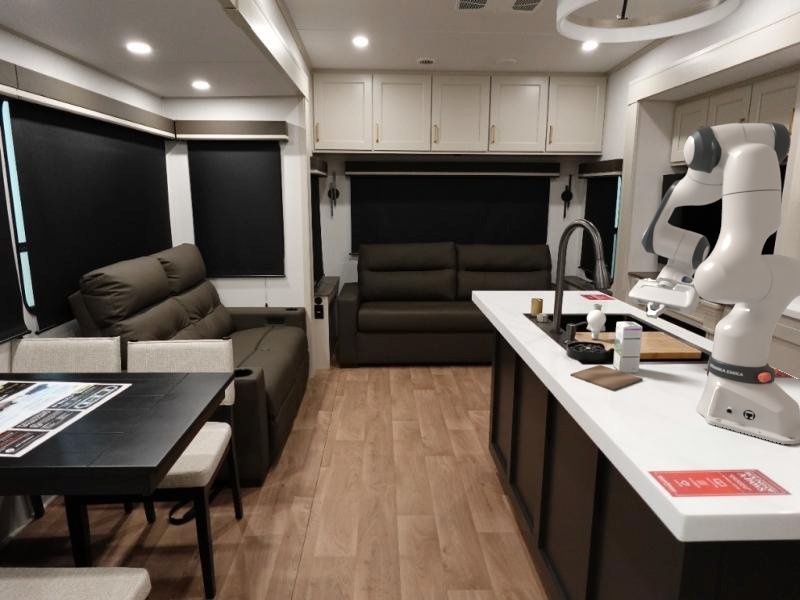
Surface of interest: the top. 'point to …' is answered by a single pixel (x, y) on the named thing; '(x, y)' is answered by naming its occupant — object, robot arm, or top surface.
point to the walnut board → (606, 377)
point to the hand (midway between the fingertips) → (650, 316)
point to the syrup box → (627, 347)
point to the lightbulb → (596, 322)
